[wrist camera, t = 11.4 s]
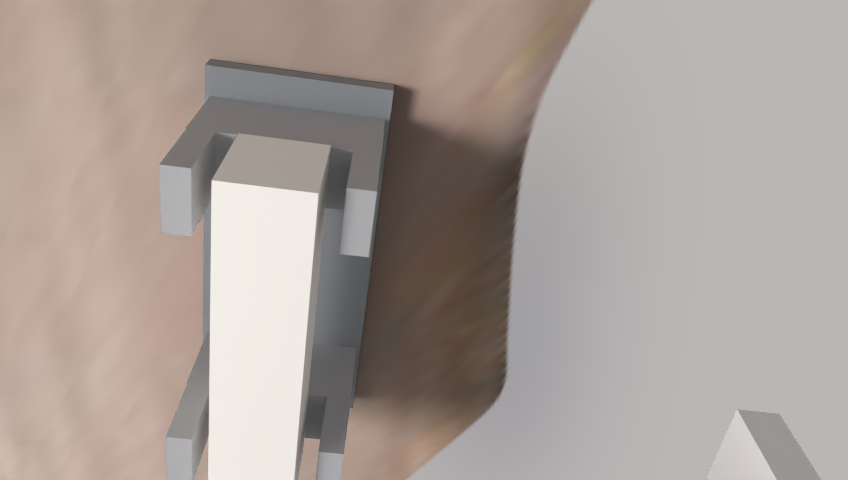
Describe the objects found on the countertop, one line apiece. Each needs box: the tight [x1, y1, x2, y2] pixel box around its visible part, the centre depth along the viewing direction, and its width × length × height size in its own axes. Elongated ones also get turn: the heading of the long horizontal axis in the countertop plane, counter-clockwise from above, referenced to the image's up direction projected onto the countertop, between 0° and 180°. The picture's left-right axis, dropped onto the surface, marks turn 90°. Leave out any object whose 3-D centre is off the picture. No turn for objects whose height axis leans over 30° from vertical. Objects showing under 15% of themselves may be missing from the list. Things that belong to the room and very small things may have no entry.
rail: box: [208, 133, 331, 480], centre depth 35 cm, size 18×4×5 cm, turn 172°
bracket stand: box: [159, 59, 394, 480], centre depth 37 cm, size 20×9×10 cm, turn 172°
